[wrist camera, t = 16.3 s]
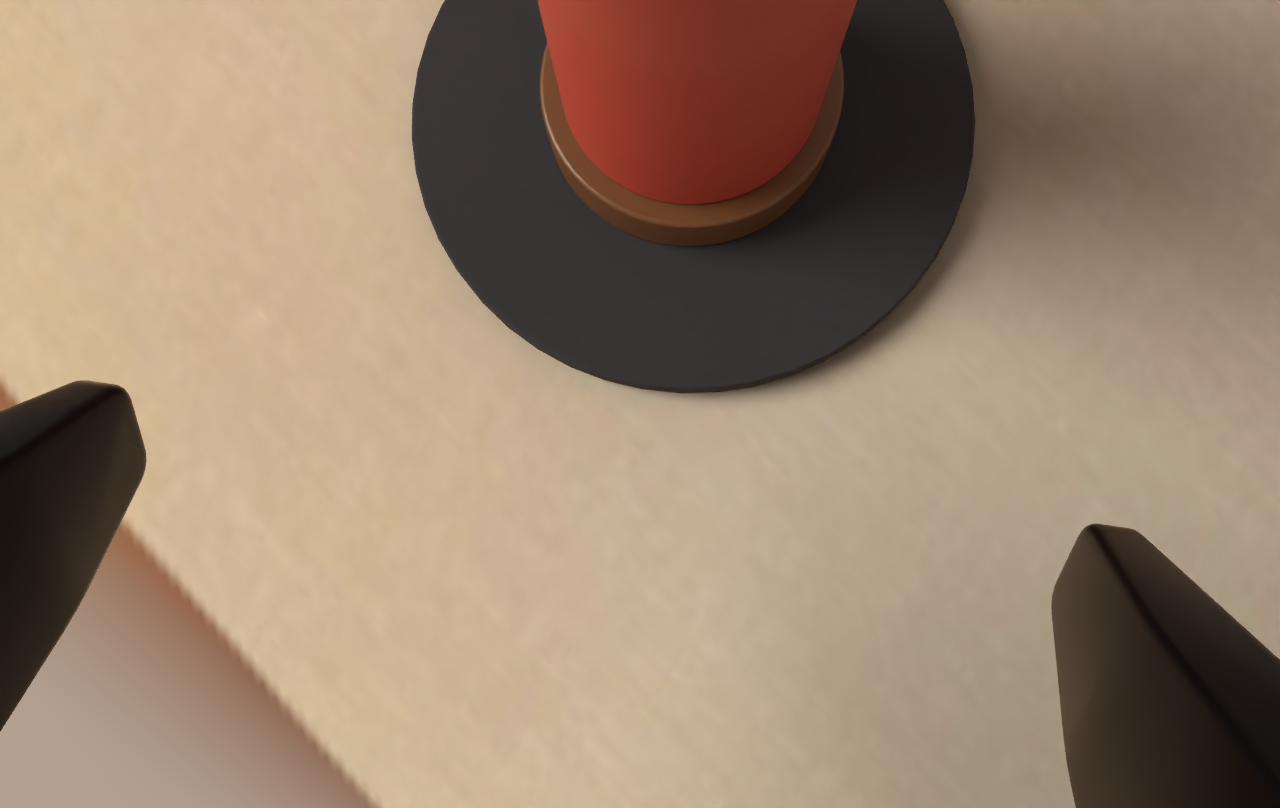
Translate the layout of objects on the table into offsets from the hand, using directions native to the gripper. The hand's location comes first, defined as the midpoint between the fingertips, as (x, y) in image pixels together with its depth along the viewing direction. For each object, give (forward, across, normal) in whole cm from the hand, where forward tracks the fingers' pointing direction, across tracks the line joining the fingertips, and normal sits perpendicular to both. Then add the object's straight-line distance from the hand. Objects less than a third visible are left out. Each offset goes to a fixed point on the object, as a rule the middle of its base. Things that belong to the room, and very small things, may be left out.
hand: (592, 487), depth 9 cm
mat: (+12, 0, +1) cm, 12 cm away
